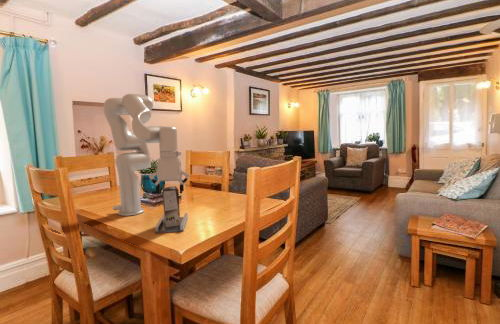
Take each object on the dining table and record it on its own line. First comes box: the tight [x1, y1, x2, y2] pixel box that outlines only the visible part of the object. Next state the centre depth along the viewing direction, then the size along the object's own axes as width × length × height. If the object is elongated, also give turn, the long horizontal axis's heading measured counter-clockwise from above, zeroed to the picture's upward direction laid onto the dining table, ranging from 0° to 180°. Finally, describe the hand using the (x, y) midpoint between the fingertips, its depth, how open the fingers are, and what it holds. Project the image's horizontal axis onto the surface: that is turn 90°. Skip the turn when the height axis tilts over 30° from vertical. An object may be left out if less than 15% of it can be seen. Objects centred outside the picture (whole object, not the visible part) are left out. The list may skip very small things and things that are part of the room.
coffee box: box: [162, 186, 181, 227], centre depth 124 cm, size 9×6×16 cm
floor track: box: [154, 212, 189, 234], centre depth 124 cm, size 11×18×3 cm, turn 7°
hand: (170, 193), depth 123 cm, fingers open, 9 cm apart
